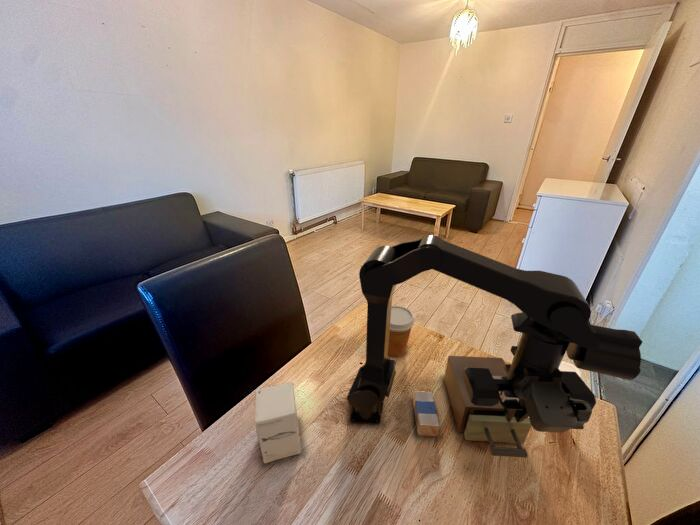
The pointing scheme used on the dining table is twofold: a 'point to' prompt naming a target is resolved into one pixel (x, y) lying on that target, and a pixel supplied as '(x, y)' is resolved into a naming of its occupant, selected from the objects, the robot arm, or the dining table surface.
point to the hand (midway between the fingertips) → (512, 420)
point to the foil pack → (425, 413)
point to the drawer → (497, 431)
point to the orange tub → (399, 330)
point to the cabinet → (457, 386)
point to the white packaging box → (277, 422)
